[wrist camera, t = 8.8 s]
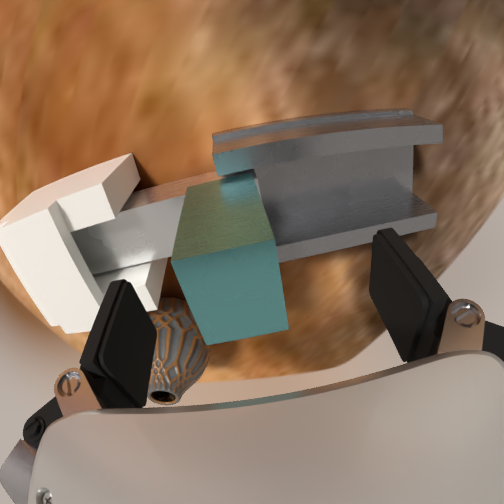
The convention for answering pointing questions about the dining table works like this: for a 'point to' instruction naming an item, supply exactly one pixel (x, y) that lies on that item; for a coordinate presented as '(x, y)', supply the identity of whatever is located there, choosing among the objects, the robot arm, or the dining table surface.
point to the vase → (175, 351)
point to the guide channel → (333, 176)
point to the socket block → (74, 244)
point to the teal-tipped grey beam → (201, 250)
